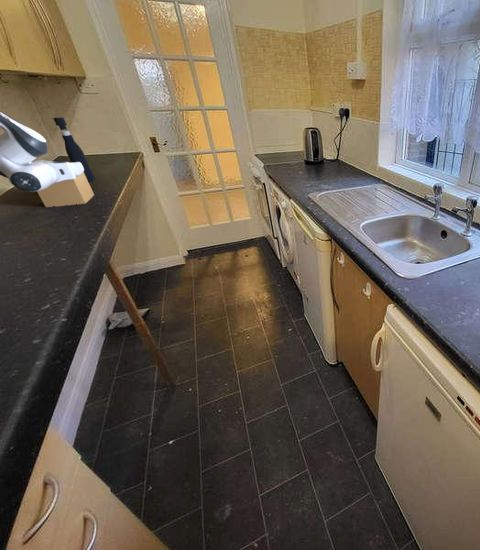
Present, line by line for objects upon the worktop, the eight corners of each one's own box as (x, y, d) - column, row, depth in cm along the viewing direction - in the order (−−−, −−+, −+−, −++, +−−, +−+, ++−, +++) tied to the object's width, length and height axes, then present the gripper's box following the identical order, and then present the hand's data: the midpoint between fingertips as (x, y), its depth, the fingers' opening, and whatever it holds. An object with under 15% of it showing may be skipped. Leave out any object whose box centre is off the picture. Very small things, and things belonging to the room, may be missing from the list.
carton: (85, 203, 127) (73, 178, 121) (46, 207, 122) (31, 181, 116) (94, 195, 138) (83, 171, 132) (58, 198, 133) (45, 174, 127)
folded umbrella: (98, 180, 160) (69, 117, 144) (83, 182, 155) (51, 118, 139) (93, 178, 163) (64, 117, 147) (79, 180, 158) (47, 117, 142)
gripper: (11, 183, 112) (27, 175, 122) (80, 178, 120) (89, 171, 130) (1, 165, 108) (18, 159, 119) (72, 162, 116) (83, 156, 127)
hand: (56, 165), depth 125 cm, fingers closed
